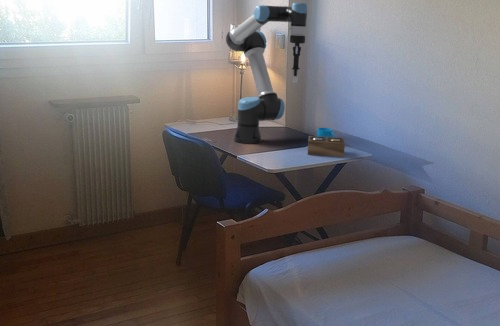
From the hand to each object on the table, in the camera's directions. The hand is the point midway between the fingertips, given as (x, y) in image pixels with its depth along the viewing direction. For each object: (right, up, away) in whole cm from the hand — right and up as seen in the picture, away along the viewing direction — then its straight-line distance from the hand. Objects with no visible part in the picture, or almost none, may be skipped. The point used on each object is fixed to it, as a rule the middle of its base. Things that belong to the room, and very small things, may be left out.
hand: (294, 82), depth 290 cm
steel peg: (+11, -35, +2) cm, 37 cm away
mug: (+19, -31, +20) cm, 42 cm away
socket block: (+16, -36, +2) cm, 39 cm away
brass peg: (+20, -36, +1) cm, 41 cm away
